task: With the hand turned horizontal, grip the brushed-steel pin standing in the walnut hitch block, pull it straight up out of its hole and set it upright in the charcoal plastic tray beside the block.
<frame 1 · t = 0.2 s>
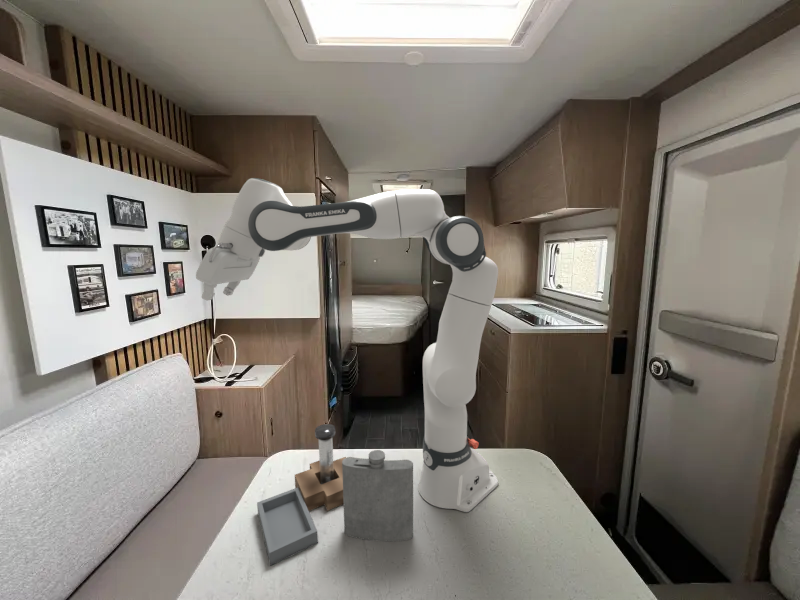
hand: (217, 296, 78), 53 cm above the table, tool tilted 25°, fingers open, 8 cm apart
hitch block: (327, 488, 89), on the table
hip flask: (378, 534, 74), on the table
steel pin: (326, 459, 87), in the hitch block
tray: (286, 527, 76), on the table
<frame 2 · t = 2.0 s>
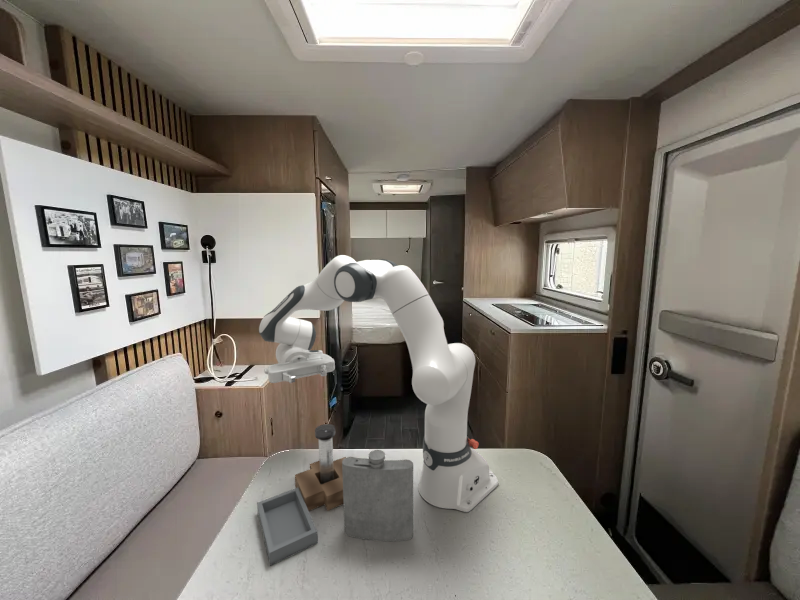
hand: (308, 376, 96), 28 cm above the table, tool horizontal, fingers open, 8 cm apart
nothing on the table moved.
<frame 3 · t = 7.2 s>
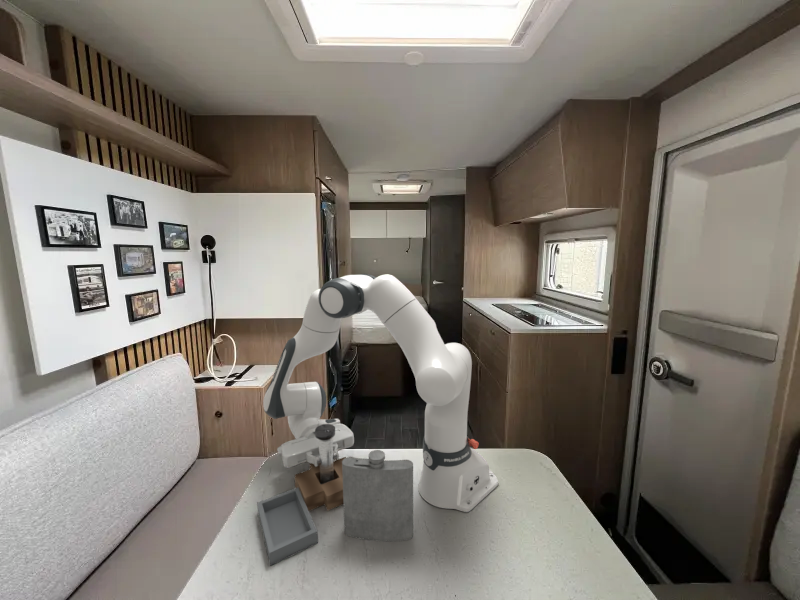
hand: (327, 460, 87), 9 cm above the table, tool horizontal, fingers closed on steel pin, 4 cm apart
steel pin: (326, 459, 87), in the hitch block, touching gripper
everything else where it was.
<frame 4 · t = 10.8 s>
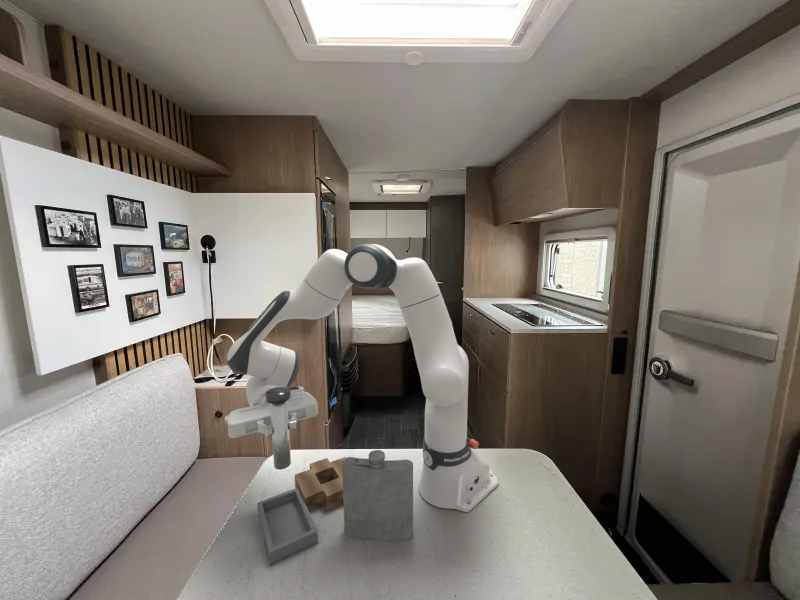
hand: (281, 429, 72), 25 cm above the table, tool horizontal, fingers closed on steel pin, 4 cm apart
steel pin: (280, 428, 73), point 25 cm above the table, touching gripper
everything else where it was.
when the fingers open (10 cm above the table, at t = 14.7 s): steel pin stays where it is, resting on tray.
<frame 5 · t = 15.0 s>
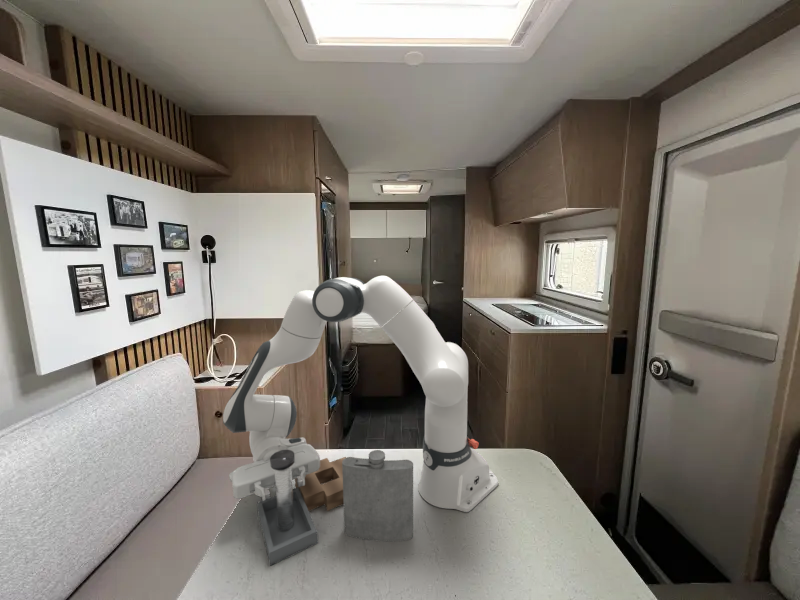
hand: (284, 490, 74), 10 cm above the table, tool horizontal, fingers open, 6 cm apart
steel pin: (284, 491, 75), in the tray
everything else where it was.
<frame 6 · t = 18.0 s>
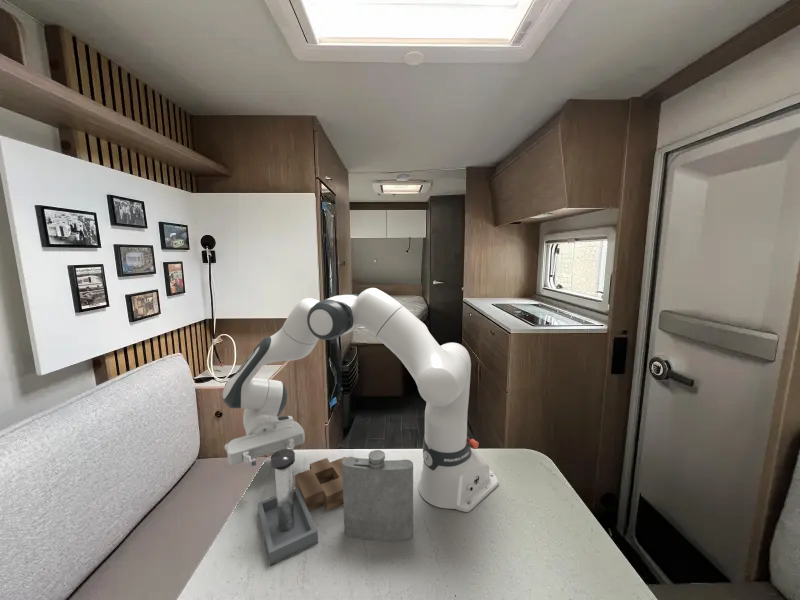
hand: (272, 457, 86), 10 cm above the table, tool horizontal, fingers open, 8 cm apart
nothing on the table moved.
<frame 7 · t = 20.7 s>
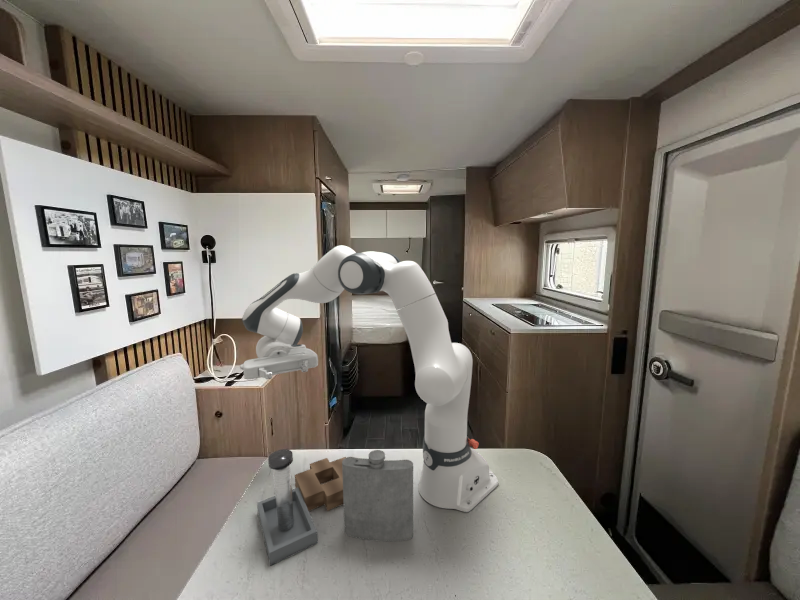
hand: (287, 372, 87), 32 cm above the table, tool horizontal, fingers open, 8 cm apart
nothing on the table moved.
at the end: steel pin inside the target area on the tray (0.0 cm from its centre), point 9.3 cm above the tray's base; steel pin tilted 1°; the gripper is holding nothing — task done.
